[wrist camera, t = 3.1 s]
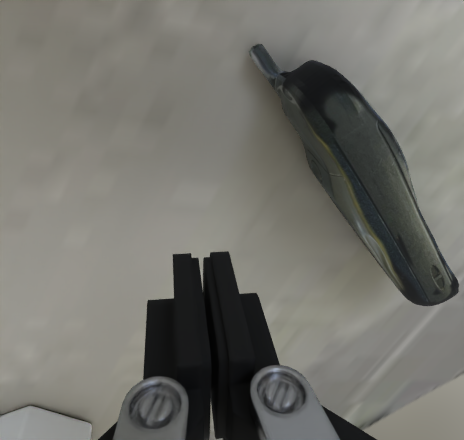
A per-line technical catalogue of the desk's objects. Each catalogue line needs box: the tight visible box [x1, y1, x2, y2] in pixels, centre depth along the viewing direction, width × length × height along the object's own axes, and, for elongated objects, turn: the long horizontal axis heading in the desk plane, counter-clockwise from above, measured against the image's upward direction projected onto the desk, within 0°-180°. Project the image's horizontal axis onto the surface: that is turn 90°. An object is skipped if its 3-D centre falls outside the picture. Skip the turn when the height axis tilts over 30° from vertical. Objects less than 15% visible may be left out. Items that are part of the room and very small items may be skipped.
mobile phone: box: [249, 44, 459, 306], centre depth 17 cm, size 5×3×15 cm
